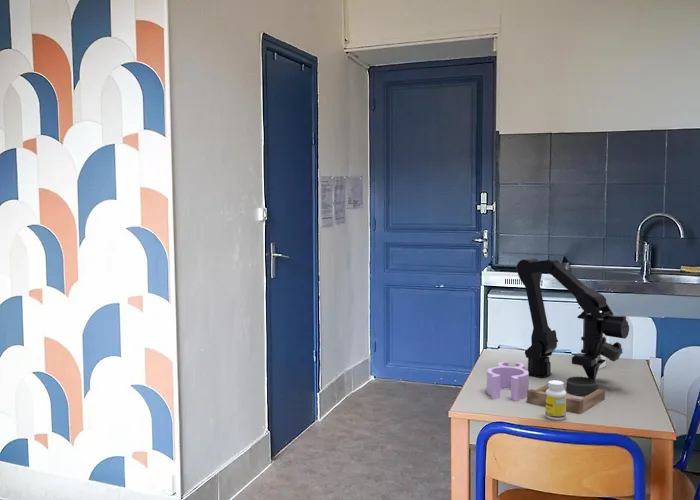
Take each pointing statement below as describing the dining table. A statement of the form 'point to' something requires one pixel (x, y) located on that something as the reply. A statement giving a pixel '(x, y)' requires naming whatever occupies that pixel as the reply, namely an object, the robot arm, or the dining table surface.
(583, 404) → the wooden tray
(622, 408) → the dining table surface
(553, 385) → the supplement bottle
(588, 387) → the smart speaker
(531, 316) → the robot arm
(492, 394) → the clip
